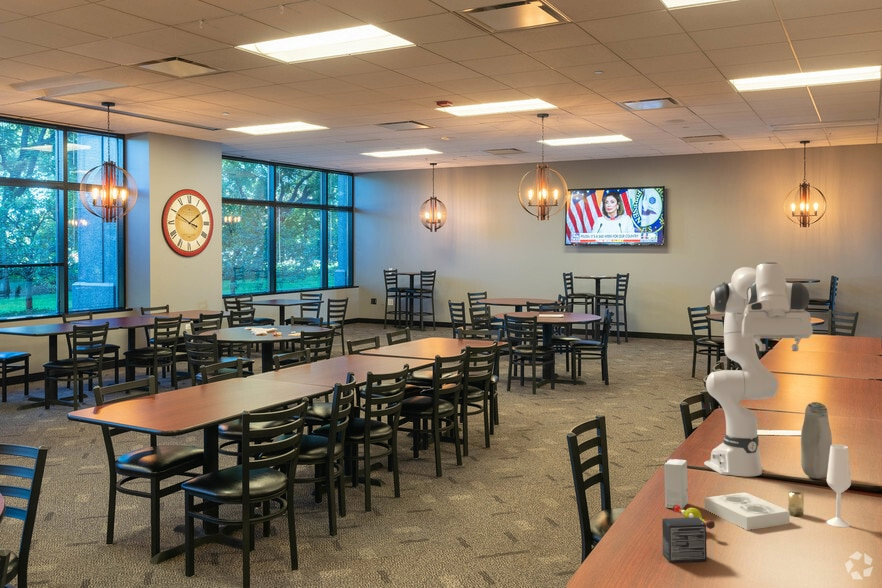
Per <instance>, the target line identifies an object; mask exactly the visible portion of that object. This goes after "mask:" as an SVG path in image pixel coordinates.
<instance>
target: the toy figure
mask: <svg viewBox="0 0 882 588" xmlns="http://www.w3.org/2000/svg"><path fill="white" fill-rule="evenodd" d="M671 509H672V511H673V512H674V513H680V512H681V514H682V515H683V518H691V517H699V518H700V519H701V520H702V521H703V522H704V523H706V528H707V529H709V530H712V529H714V528H715V527H716V523H715V522H714V521H713V520H705V519H703V517H702V516H703V515H702V513H701V511H700V510H699V509H697V508H696V507H688V508H687V509H686V510H685V509H683V510H681V507H680V506H679V505H674V506H673V508H671Z"/></svg>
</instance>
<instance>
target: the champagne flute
mask: <svg viewBox="0 0 882 588" xmlns="http://www.w3.org/2000/svg"><path fill="white" fill-rule="evenodd" d="M826 483H827V485H828V487H830V488H831V490H833V491H834V492H835V493H836V498H835V499H836V503H835V504H836V506H835V507H836V508H835V509H836V515H835V517H833V518H831V519H828V520H826V521H825V522H826V524H828V525H829V526H833V527H837V528H849V527H851V523H849V522H848V521H846V520H845V519H843V518H842V517H841V515H842V513H841V511H842V509H841V508H842V503H841V502H842V500H841V499H842V494H841V493H844V492H845V491H846V490H848V489H849V488H850V486H851V485H852V477H851V467H850V455H849V447H848V446H847V445H845V444H844V445H842V444H832V445H831V446H830V455H829V463H828V472H827V476H826Z"/></svg>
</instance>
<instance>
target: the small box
mask: <svg viewBox="0 0 882 588" xmlns="http://www.w3.org/2000/svg"><path fill="white" fill-rule="evenodd" d="M661 520H662V522H661V523H662V527H661V528H662V555H663V557H664V558H665V559H666V560H667V562H669V563H670V564H672V563H675V564H677V563H693V562H697V563H698V562H707V561H708V556H707V555H708V554H707V550H708V549H707V527H706V523H704V522H703V521H702V520H701V519H700V518H699V517H691V518H684V517H670V518H669V517H667V518H661Z"/></svg>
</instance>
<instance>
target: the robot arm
mask: <svg viewBox="0 0 882 588" xmlns="http://www.w3.org/2000/svg"><path fill="white" fill-rule="evenodd" d="M809 293H810V292H809V290H808V288H807V287H806V285H804V284H803V283H802V282H789V281H787V280H786V275H785V272H784V268H783V267H782V265H781V263H778V262H771V261H770V262H762V263H759V264H757V266H756V268H754V267H750V266H744V267H740V268H737V269H736V270H735V271H734V272H733V273H732V274H731V280H730V282H729V283H726V282H725V281H724V282H722V284H718V285H716V286H715V287H714V288H713V289H712V291H711V294H710V304H711V306H712V309H713V310H714V311H715V312H717V313H721V314H725V315H724V318H723V319H724V320H723V321H724V322H723V341H724V342H723V343H724V344H723V346H724V354H725V356H726V357H727V358H728V359H729V360H732V361H734V362H735V363H738V364H739V366H740V367H741V370H740V369H739V370H738V369H737V370H734V369H733V370H731V369H729V370H728V369H721V370H716V371H711V372H710V373H709V375H708V376H707V378H706V381H705V387H706V391H707V392H708V394H709V395H710V396H711V397H712V398H714V399H715V400H716V401H717V402H718V404H719V405H720V406H721V407H722V409H723V411H724V412H723V413H724V417H725V428H726V429H725V430H726V431H725V434H721V438H723V440H722V443H720V444H719V445H717V446H716V447H714V448H713V449H712V450H711V453H710V459H708V460H706V461H704V466H706V467H708V468H710V469H711V470H712V471H715V472H716V473H718V474H720V475H725V476H727V475H728V476H733V477H734V476H736V477H737V476H738V477H747V478H748V477H757V476H760V475H762V473H763V472H762V471H763V470H764V468H763V467H764V466H762V463H761V453H760V448H759V443H760V439H759V435H758V416H757V415H756V413H755V411H753V410H751V409H750V408H748V407H746V406H743V405H742V404H741V400H766V399H770V398H771V399H773V398H774V397H775V396H776V394H777V393H778V391H779V381H778V378H777V376H776V375H775V374H774V373H773V372H772V371H770V370H768V369H767V368H766V367H765V366H764V365H763V364H762V362H761V360H760V358H759V357H758V353H757V348H756V345H757V346H758V347H759V349H758V350H759V352H765V351H766V350H767V348H766V344H765V343H763V342H762V341H761V339H794V342H795V343H793V344H792V345H791V351H792V352H798V351H799V344H800V342H801V340H802V339H809V338H810V337H811V336H812V335H813V333H814V330H813V325H812V322H811V320H812V317H811V313H810V312H809V311H807V310H805V309H806V308H807V307H808V306H809V303H810V294H809Z"/></svg>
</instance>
